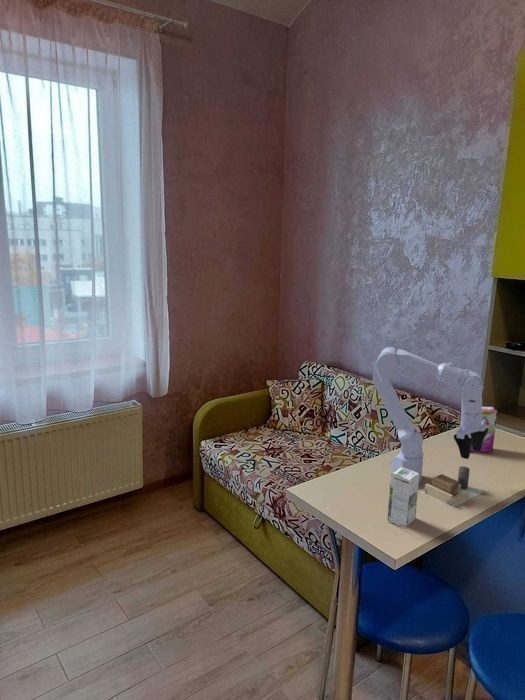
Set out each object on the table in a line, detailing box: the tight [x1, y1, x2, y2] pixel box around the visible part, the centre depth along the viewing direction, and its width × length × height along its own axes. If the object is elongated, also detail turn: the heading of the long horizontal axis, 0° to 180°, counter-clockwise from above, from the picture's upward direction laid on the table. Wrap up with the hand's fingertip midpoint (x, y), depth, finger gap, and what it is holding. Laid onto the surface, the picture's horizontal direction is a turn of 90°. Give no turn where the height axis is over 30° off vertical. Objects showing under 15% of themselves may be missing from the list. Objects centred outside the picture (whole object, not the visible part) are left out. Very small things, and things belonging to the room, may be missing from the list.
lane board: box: [420, 478, 484, 509], centre depth 149 cm, size 16×11×4 cm
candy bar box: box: [468, 406, 498, 453], centre depth 180 cm, size 11×5×16 cm, turn 84°
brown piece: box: [431, 466, 470, 497], centre depth 149 cm, size 13×6×6 cm, turn 125°
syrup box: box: [387, 467, 420, 529], centre depth 133 cm, size 6×6×14 cm
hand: (470, 454), depth 150 cm, fingers open, 7 cm apart
